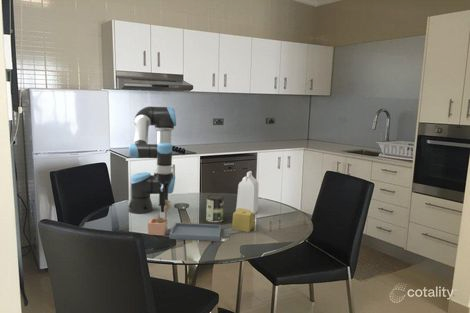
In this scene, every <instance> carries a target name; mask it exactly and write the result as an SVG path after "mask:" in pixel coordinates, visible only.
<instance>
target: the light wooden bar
mask: <svg viewBox="0 0 470 313" xmlns="http://www.w3.org/2000/svg"><path fill="white" fill-rule="evenodd" d="M172 203H173V201H170V200H169V199H168V200H165V205H166V208H165V218H160V213H159V214H158V216H157V218H158V219H157V221H156V223H164V221H165V219H167V216H168V213H169V211H170V208H171V206H172Z"/></svg>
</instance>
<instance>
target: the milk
mask: <svg viewBox="0 0 470 313" xmlns="http://www.w3.org/2000/svg"><path fill="white" fill-rule="evenodd" d="M237 186H238V187H237V196H236V207H235V211H236V210H237V209H238V208H242V209H246V210H250V211H251V212H253V214H254V215H256V213H257V212H258V211H259V181H258V180H257V179H256V178H255V177H254V175H253V172H252V171H251V170H249V171H247V172H246V176H244V177H242V180H241V181H239V183H238V185H237ZM257 210H258V211H257ZM256 211H257V212H256Z"/></svg>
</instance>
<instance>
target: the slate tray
mask: <svg viewBox="0 0 470 313" xmlns="http://www.w3.org/2000/svg"><path fill="white" fill-rule="evenodd" d="M173 224H174V225H173V226H172V228H171V230H170V232H169V234H168V235H169V236H168V239H169V240H170V239H171V240H184V241H186V240H188V241H204V240H207V241H209V242H220V241H221V240H220V239H221V233H222V224H215V223H214V224H212V223H210V224H209V223H207V224H206V223H193V222H174V223H173ZM207 241H206V242H207Z"/></svg>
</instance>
